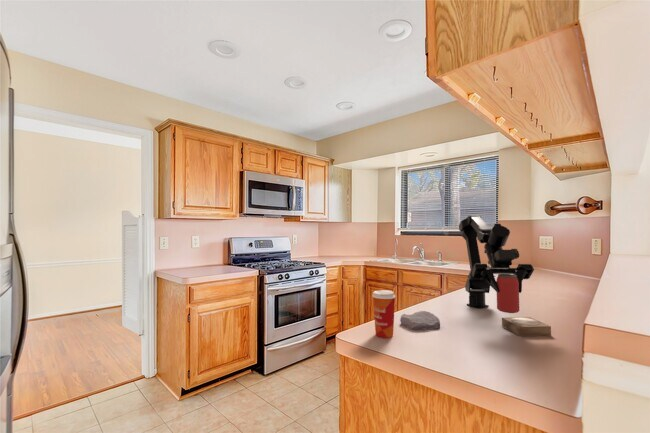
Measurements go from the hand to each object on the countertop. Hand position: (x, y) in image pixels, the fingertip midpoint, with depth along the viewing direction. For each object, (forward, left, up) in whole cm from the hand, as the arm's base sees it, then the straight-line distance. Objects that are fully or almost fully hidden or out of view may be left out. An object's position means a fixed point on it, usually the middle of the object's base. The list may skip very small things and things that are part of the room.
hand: (509, 291), depth 104 cm
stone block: (+21, -19, -14) cm, 32 cm away
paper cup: (+38, -17, -13) cm, 44 cm away
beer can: (-1, -1, -7) cm, 7 cm away
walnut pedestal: (-6, +2, -13) cm, 14 cm away
